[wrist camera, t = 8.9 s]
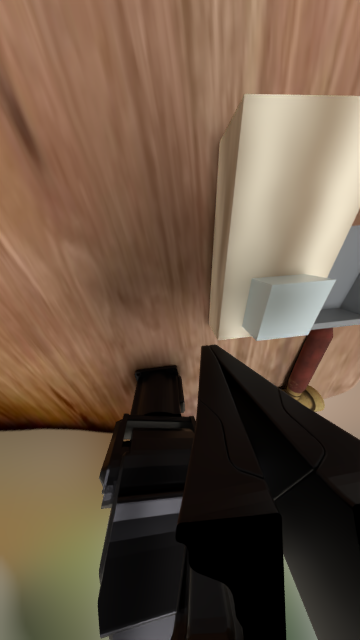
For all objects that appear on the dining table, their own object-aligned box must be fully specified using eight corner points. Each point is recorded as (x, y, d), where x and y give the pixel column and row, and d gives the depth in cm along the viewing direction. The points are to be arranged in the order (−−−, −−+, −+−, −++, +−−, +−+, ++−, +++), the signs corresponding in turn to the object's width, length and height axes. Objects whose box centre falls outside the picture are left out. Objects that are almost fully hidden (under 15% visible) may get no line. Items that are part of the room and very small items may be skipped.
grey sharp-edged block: (242, 326, 14) (256, 340, 12) (251, 278, 12) (272, 285, 9) (285, 321, 14) (308, 334, 12) (304, 274, 12) (336, 279, 10)
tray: (278, 317, 18) (301, 330, 15) (340, 141, 10) (412, 96, 7) (337, 311, 19) (371, 323, 16) (436, 140, 11) (539, 99, 8)
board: (208, 324, 18) (218, 340, 14) (219, 142, 10) (244, 94, 7) (278, 317, 18) (301, 330, 15) (340, 141, 10) (412, 96, 7)
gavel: (314, 324, 16) (386, 317, 17) (283, 311, 20) (342, 306, 21) (271, 423, 25) (319, 416, 25) (255, 399, 29) (297, 394, 29)
